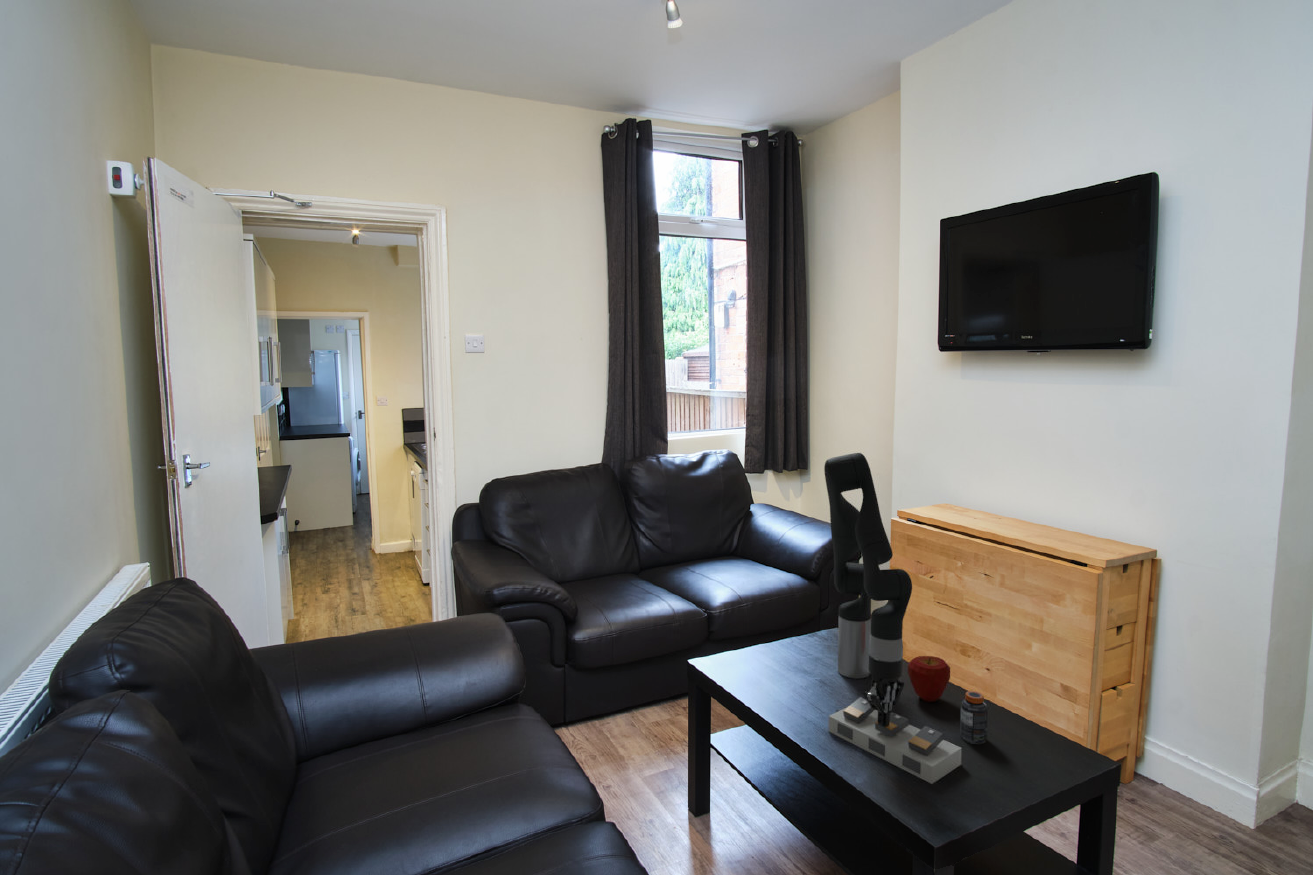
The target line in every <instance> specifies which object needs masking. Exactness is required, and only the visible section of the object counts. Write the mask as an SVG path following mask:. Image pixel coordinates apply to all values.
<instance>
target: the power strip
mask: <svg viewBox="0 0 1313 875" xmlns="http://www.w3.org/2000/svg"><path fill="white" fill-rule="evenodd" d="M846 708H847V707H844V708H842V709H841V710H839V709H837V710H836V711H835V712H834V713H832V714H830V715H828V732H829V733H831V734H833V735H835V736H836V737H838V738H841V739H842V740H845V741H847V742H849V743H851V744H853V745H855V746H856V747H858V748H861V749H862V750H864V751H866V752H868V753H871V754H872V755H874V756H876V757H878V758H880V759H882V760H884V761H886V762H888V763H890V764H892V765H894V766H896V767H898V768H899V769H902V770H904V771H905V772H908V773H910V774H911V775H913V776H915V777H917V778H919V779H921V780H924V781H925V782H927V783H929V784H931V785H933V784H934V783H936V782H937V781H940V779H942V778H943V777H945V776H946V775H948V774H949V773H951V772H952V771H954V770H955V769H956V768H958V767H960V766H962V747H961V746H958V745H955V744H953V743H951V742H949V741H948V740H943V741H942V742H941V743H940V744H939V745H938V746H937V747H936V748H935V749H934V750H933V751H932V752H931V753H930V754H929V755H928V756H925V755H923V754H921V753H919V752H917V751H914V750H912V749H910V748H909V744H908V742H909V740H910V739H912V738H913V737H914V736H915V735H916V734H917V733H918V732H919V731H920V730H921V729H920V728H918V727H916V726H914V725H911V724H909V726H907V727H906V728H904V729H903V730H901V731H900V732H898V733H897V734H895V735H894V736H892V737H891V736H888V735H886V734H884V733H882V732H880V731H878V730H876V729H875V723H876V722H877V721H878V711H877V710H874V711H873V712H872V713H871V714H870V715H869V716H867V717H866V718H865V719H864V720H863V721H862V722H860V723H859V724H858V723H856V722H854V721H852V720H850V719H847V718H845V717H844V714H843V711H844V710H845V709H846Z"/></svg>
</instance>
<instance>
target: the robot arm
mask: <svg viewBox="0 0 1313 875" xmlns="http://www.w3.org/2000/svg"><path fill="white" fill-rule="evenodd" d="M823 469H824V470H823V471H824V480H825V485H826V490H827V491H826V492H827V496H828V504H829V514H830V515H829V518H830V533H831V534H830V535H831V542H832V549H833V582H834V587H835V589H836V591H837V592H838V593H841V594H843V595H844V594H845V595H853V596H859V597H858V598H857V599H854V600H851V601H848V602H847V601H846V602H844V603H841V604H840V605H839V607H838V634H837V635H838V637H837V640H838V642H837V643H838V644H837V647H838V648H837V654H838V655H837V672H838V673H839V674H840V675H842V676H843V677H846V678H850V679H864V678H868V677H870V675H871V677H872V679H871V682H870V687H871V688H870V690H869V691H867V690H866V691H865V692H864V693H863V695H864V697H865V698H864V699H866V700H867V701H868V703H869V704H870V706H871V708H872V709H875V710H877V711H878V724H879V725H880V726H882V727H887V726H889V723H890V713H891V711H892V710H893V707H896V706H897V705H898V701H899V699H900V696H901V694H902V691H903V689H904V687H905V682H903V681H900V680H899V678H901V677H902V675H903V659H904V658H903V656H904V645H903V644H904V643H903V627H904V626H903V624H904V618H905V615H906V612H907V608H908V605H909V602H910V598H911V596H912V591H913V582H912V578H911V576H910V575H909V573H908V572H907V571H906V570H904V569H902V568H888V569H880V565H883V564H887V563H888V562H889V561H890V560H892V559H893V550H892V547H891V543H890V541H889V537H888V535H887V533H886V530H885V527H884V524H883V520H882V517H881V512H880V511H881V510H880V506H879V501H878V497H877V492H876V488H875V484H874V480H873V476H872V472H871V467H870V465H869V462H868V460H867V458H866V456H865V455H864V454H863V453H862V452H854V453H850V454H849V453H848V454H843V455H839V456H835V457H830V458H827V459H826V461H825V463H824V468H823ZM858 489H861V492H862V502H861V506H860V510H859V509H858V508H857V507H855V506H854V505H853V504H852V503H850V502H849V501H848V500H847V499H846V498H845V497H844V495H843V494H842V493H845V492H849V491H855V490H858ZM858 551H860V554H861V558H862V563H861V562H860V563H858V562H849V560H850V559H851V558H852V557H853V556H854V555H855V554H856V553H857V552H858ZM872 600H873V601H875V602H883V601H884V602H885V601H887V602H886V604H884V605H883V606H880V607H877V608H875V609H874V610H872Z"/></svg>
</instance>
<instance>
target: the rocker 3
mask: <svg viewBox="0 0 1313 875" xmlns="http://www.w3.org/2000/svg"><path fill="white" fill-rule="evenodd" d="M943 740H944V733H942V732H940V731H939V730H936V729H934V728H931V727H929V726H927V725H924V726H923V727H922V728H921V729H920V731H919V732H918V733H917V734H916V735H915V736H914V737H913V738H912V739H910V740H909V742H908V744H909V748H910V749H912V750H914V751H917V752H919V753H921V754H923V755H925V756H928V755H929V754H930V753H931V752H932V751H933V750H934V749H935V748H936V747H937V746H938V745H939V744H940V743H941V742H942V741H943Z"/></svg>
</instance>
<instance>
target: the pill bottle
mask: <svg viewBox="0 0 1313 875" xmlns="http://www.w3.org/2000/svg"><path fill="white" fill-rule="evenodd" d="M984 699H985V698H984V695H983V694H982V693H981V692H978V691H974V690H970V691H966V692H965V699H963V700H962V701H961V703H960V726H959V728H960V729H959V730H960V731H959V732H960V733H959V736H960V738H961V739H962V740H963V741H965V742H967V743H970V744H973V745H982V744H985V743H986V742H988V713H989V712H988V710H989V709H988V706H987V704H986V703H985V702H984V701H985V700H984Z"/></svg>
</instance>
